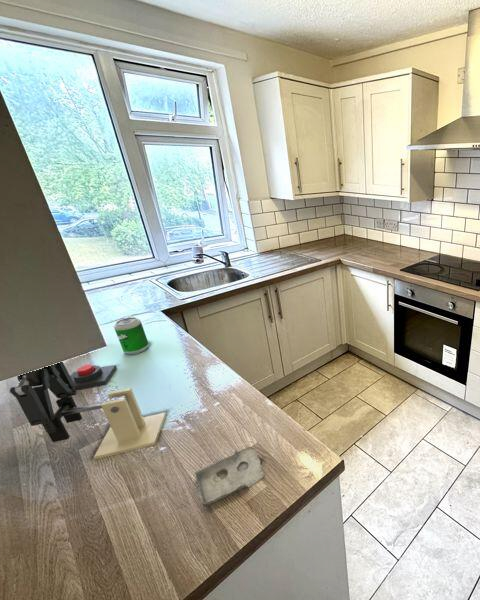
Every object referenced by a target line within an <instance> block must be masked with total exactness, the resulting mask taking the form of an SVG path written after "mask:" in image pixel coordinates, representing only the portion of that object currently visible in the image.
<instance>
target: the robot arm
mask: <svg viewBox="0 0 480 600" xmlns="http://www.w3.org/2000/svg"><path fill="white" fill-rule="evenodd" d="M70 376H71V375H70V373H69V371H68V369H67V366H66V365H65V363H64V361H63V362H60V363H57V364H54V365H51V366H48V367H44V368H42V369H39V370H36V371H32V372H29V373H26V374H23V375H20V376H17V375H16V378H17V381H18V383H17V385H16V386H12V387H10V388H9V393H10V394H11V395H12V396H13V397H15V399H16V400H17V402H18V404H19V406H20V408H21V410H22V412H23V413H24V415H25V417H26V419H27V421H28V423H29V425H30V426H31V427H33V426H39V425H42V428H43V429H44V430H45V432H46V433H47V434H48V435H47V436H48V437H49V439H50V440H51V442H52V443H58V442H62V441H66V440H69V439H70V437H71V436H70V434H69V433H68V430H67V429H66V427H65V425H64V423H63V421H62V418H63V419H64V420H65V422H66V423H67V424H69V423H73V422H79V421H82V419H83V416H82V414H81V412H80V413H75V414H69V415H64V416H63V417H62V418H61V419H60V417H59V415H54V414H55V411H54V407H53V404H52V400H51V397H50V393H49V391H50V392H52V394H53V395H54V396H55V397H56V398H57V399H56V401H55V403H56V405H57V408H58V409H59V408H60V406H61V405H62V404H63V403H69V404H70V407H69V408H74V407H78V406H77V404H76V402H75V400H74V398H73V396H77V392H78V390H76V391H72V389H75V384H74V382H73V381H72V379H71V377H70ZM66 384H68V385H66Z"/></svg>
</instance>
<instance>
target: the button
mask: <svg viewBox="0 0 480 600" xmlns="http://www.w3.org/2000/svg"><path fill="white" fill-rule="evenodd" d="M76 371H78V373H79V375H80V376H83V375H87V374H90V373H92V372H93V371H95V370H94V367H93V364H91V363H90V364H84V365H82V366H80V367H78V368H77V369H76Z"/></svg>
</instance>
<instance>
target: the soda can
mask: <svg viewBox="0 0 480 600" xmlns="http://www.w3.org/2000/svg"><path fill="white" fill-rule="evenodd" d="M113 329H114V332H115V333H116V336H117V338H118V341H119V344H120V346H121V349H122V351H123V353H125V354H127V355H137V354H140V353H143V352H145V351H146V350H147V349H148V347H149V345H150V342H149V341H148V338H147V335H146V332H145V330H144V326H143V324H142V321H141V319H140V318H137V317H134V316H133V317H132V316H131V317H125V318H122V319H119V320H117V321H116V322H115V324H114V326H113Z"/></svg>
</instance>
